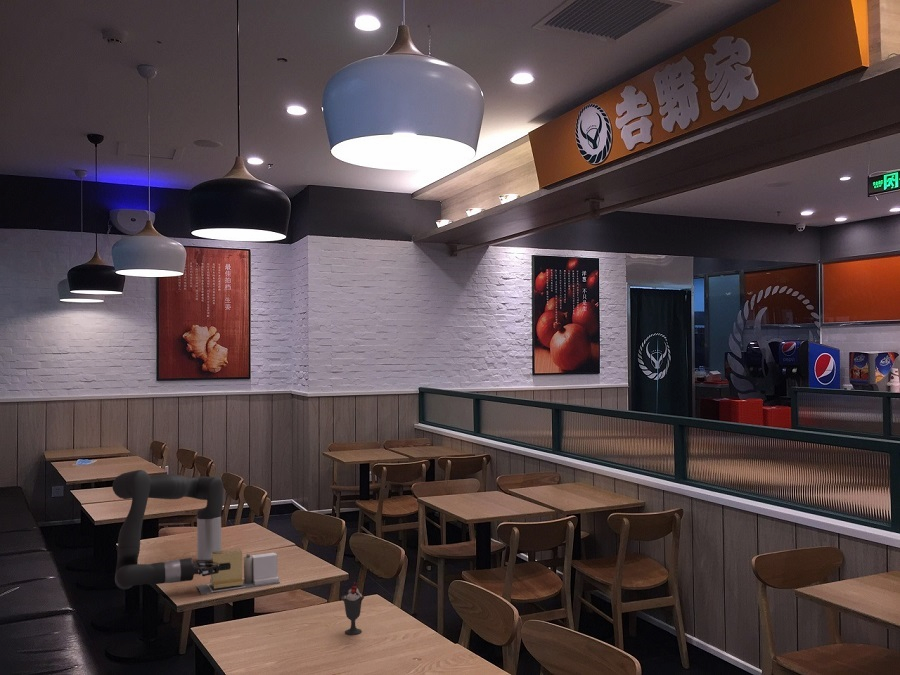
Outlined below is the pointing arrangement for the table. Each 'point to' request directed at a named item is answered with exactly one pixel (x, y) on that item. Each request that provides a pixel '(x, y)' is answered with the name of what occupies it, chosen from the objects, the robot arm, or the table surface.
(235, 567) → the brass leaf
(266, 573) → the hinge board
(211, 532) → the robot arm
